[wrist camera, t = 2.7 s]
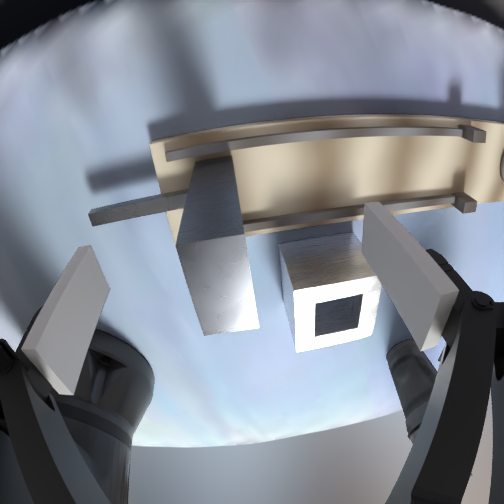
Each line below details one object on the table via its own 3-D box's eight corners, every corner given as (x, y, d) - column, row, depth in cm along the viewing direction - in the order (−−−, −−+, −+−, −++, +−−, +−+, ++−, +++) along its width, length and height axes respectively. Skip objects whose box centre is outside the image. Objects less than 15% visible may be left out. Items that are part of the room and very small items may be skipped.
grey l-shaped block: (103, 242, 22) (52, 347, 13) (84, 186, 19) (7, 275, 10) (241, 217, 22) (259, 327, 13) (232, 155, 19) (244, 234, 11)
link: (283, 302, 29) (296, 352, 24) (278, 243, 25) (294, 291, 20) (348, 290, 29) (371, 335, 24) (353, 232, 25) (383, 274, 20)
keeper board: (177, 239, 24) (162, 324, 16) (153, 140, 20) (111, 187, 12) (507, 194, 25) (564, 237, 17) (517, 124, 20) (583, 156, 12)
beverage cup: (373, 348, 34) (433, 495, 18) (425, 323, 33) (498, 457, 17) (379, 375, 38) (427, 500, 21) (424, 353, 37) (481, 470, 20)
